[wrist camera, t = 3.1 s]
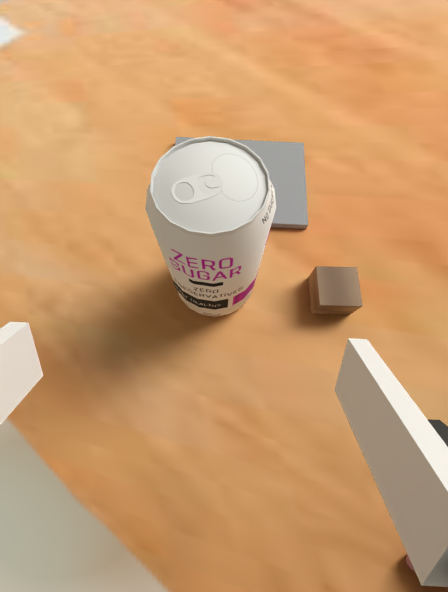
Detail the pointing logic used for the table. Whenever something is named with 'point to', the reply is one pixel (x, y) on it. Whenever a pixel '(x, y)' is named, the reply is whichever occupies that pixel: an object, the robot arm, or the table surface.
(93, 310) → the table surface
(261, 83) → the table surface
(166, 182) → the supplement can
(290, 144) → the grey rubber mat
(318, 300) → the walnut block
